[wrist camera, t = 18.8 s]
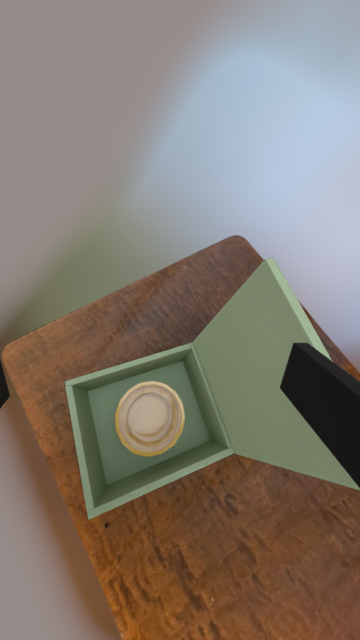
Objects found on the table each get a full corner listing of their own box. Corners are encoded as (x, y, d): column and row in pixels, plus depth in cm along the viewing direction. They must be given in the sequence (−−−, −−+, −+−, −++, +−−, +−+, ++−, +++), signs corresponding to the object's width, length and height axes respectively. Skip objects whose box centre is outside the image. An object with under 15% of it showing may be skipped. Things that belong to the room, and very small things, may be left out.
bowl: (112, 440, 36) (104, 446, 29) (130, 380, 40) (127, 374, 33) (170, 454, 36) (176, 463, 29) (182, 394, 40) (190, 390, 33)
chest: (103, 491, 34) (88, 520, 25) (83, 388, 39) (64, 381, 30) (215, 443, 38) (236, 452, 29) (184, 356, 43) (194, 341, 34)
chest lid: (400, 502, 12) (409, 495, 12) (265, 258, 17) (273, 257, 17) (235, 454, 29) (240, 451, 29) (192, 341, 34) (197, 340, 34)
